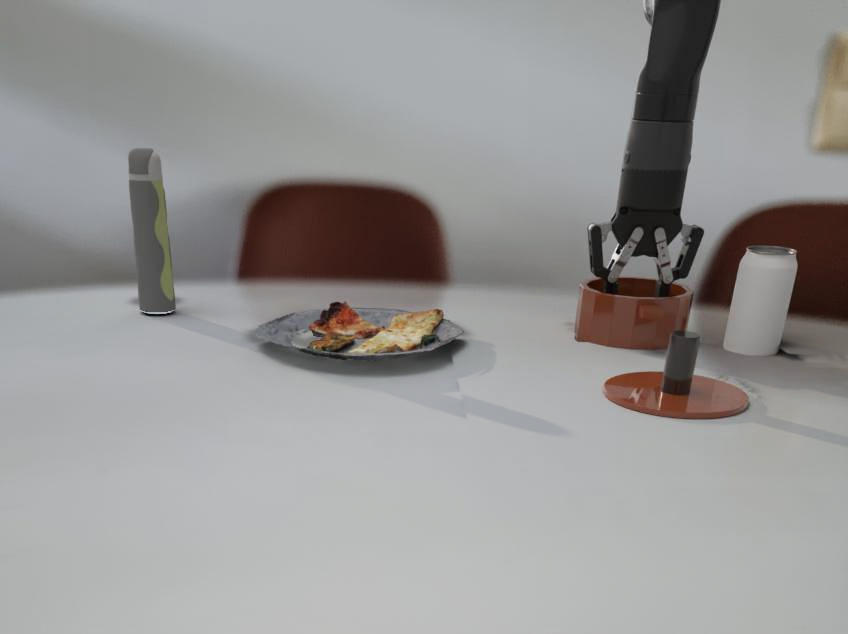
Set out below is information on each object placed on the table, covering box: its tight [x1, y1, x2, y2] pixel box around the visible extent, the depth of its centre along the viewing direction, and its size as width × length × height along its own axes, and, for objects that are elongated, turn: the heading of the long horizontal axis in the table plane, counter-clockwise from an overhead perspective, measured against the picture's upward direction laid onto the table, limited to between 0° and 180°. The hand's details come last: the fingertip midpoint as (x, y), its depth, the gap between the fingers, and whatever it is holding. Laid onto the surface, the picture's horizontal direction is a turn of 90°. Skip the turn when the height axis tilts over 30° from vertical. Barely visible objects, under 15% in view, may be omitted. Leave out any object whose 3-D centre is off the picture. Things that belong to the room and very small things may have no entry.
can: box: [722, 245, 799, 357], centre depth 116 cm, size 6×6×12 cm
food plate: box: [254, 300, 464, 364], centre depth 118 cm, size 25×23×4 cm
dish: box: [573, 275, 695, 351], centre depth 122 cm, size 14×19×6 cm
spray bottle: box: [127, 147, 177, 312], centre depth 128 cm, size 5×5×20 cm
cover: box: [602, 330, 750, 420], centre depth 100 cm, size 15×15×7 cm
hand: (632, 312), depth 122 cm, fingers open, 5 cm apart
